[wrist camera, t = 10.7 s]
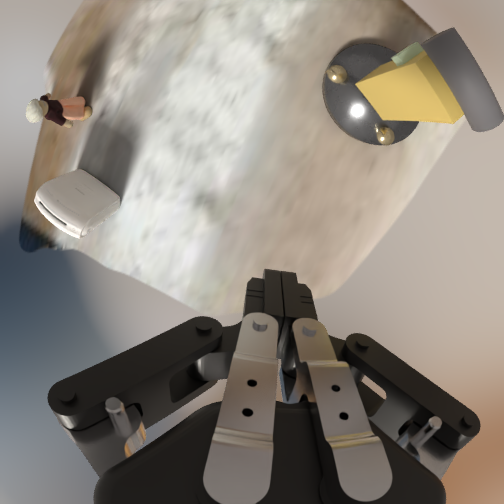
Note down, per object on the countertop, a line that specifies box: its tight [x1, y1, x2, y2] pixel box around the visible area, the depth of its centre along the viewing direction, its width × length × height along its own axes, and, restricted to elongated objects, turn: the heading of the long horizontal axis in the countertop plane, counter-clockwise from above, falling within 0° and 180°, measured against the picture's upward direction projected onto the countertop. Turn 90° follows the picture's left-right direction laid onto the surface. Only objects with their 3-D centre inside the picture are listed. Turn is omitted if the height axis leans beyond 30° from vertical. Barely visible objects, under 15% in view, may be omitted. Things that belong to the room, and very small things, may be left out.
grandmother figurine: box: [26, 93, 92, 128], centre depth 30 cm, size 8×4×13 cm, turn 50°
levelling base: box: [322, 44, 419, 145], centre depth 33 cm, size 15×15×2 cm
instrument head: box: [355, 28, 504, 132], centre depth 22 cm, size 5×8×21 cm, turn 42°
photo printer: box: [34, 169, 120, 239], centre depth 36 cm, size 10×4×12 cm, turn 53°
